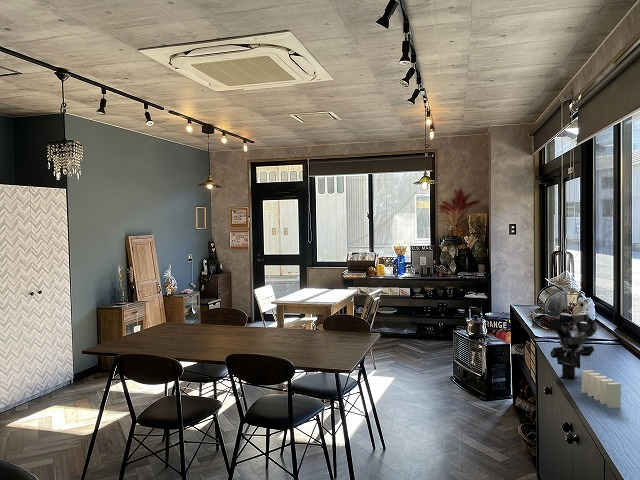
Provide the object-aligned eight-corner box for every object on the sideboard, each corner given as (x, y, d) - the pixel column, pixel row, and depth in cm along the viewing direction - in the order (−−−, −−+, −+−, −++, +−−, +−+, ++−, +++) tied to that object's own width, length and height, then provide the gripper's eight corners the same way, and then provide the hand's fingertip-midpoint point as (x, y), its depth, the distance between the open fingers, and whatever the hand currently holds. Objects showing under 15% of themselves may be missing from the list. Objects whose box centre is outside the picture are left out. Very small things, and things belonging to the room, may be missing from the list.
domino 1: (581, 392, 224) (581, 370, 224) (592, 391, 224) (592, 370, 224) (583, 393, 222) (583, 371, 222) (594, 393, 223) (594, 371, 222)
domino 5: (606, 406, 207) (606, 383, 206) (618, 406, 207) (618, 382, 207) (609, 408, 205) (609, 384, 205) (620, 407, 206) (620, 383, 205)
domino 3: (593, 399, 215) (593, 376, 215) (604, 398, 216) (604, 376, 215) (596, 400, 214) (595, 377, 213) (607, 400, 214) (607, 377, 214)
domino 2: (587, 395, 220) (587, 373, 219) (598, 395, 220) (598, 372, 220) (589, 397, 218) (589, 374, 218) (600, 396, 219) (600, 374, 218)
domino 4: (600, 403, 211) (600, 379, 211) (611, 402, 212) (611, 379, 211) (602, 404, 210) (602, 380, 209) (613, 403, 210) (613, 380, 210)
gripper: (552, 330, 233) (565, 360, 222) (591, 328, 233) (606, 358, 223) (544, 342, 241) (556, 372, 231) (582, 340, 242) (596, 370, 231)
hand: (579, 368), depth 229 cm, fingers closed
